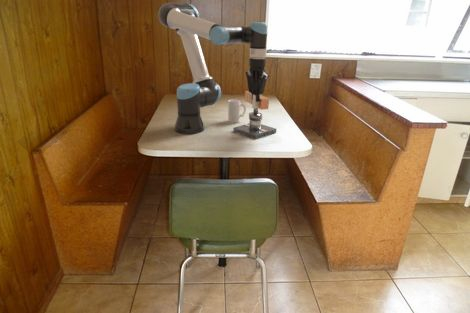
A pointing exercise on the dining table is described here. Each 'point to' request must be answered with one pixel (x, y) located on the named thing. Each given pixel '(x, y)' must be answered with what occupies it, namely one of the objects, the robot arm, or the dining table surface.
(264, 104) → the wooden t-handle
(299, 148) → the dining table surface
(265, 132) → the base
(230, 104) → the mug
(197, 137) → the dining table surface
